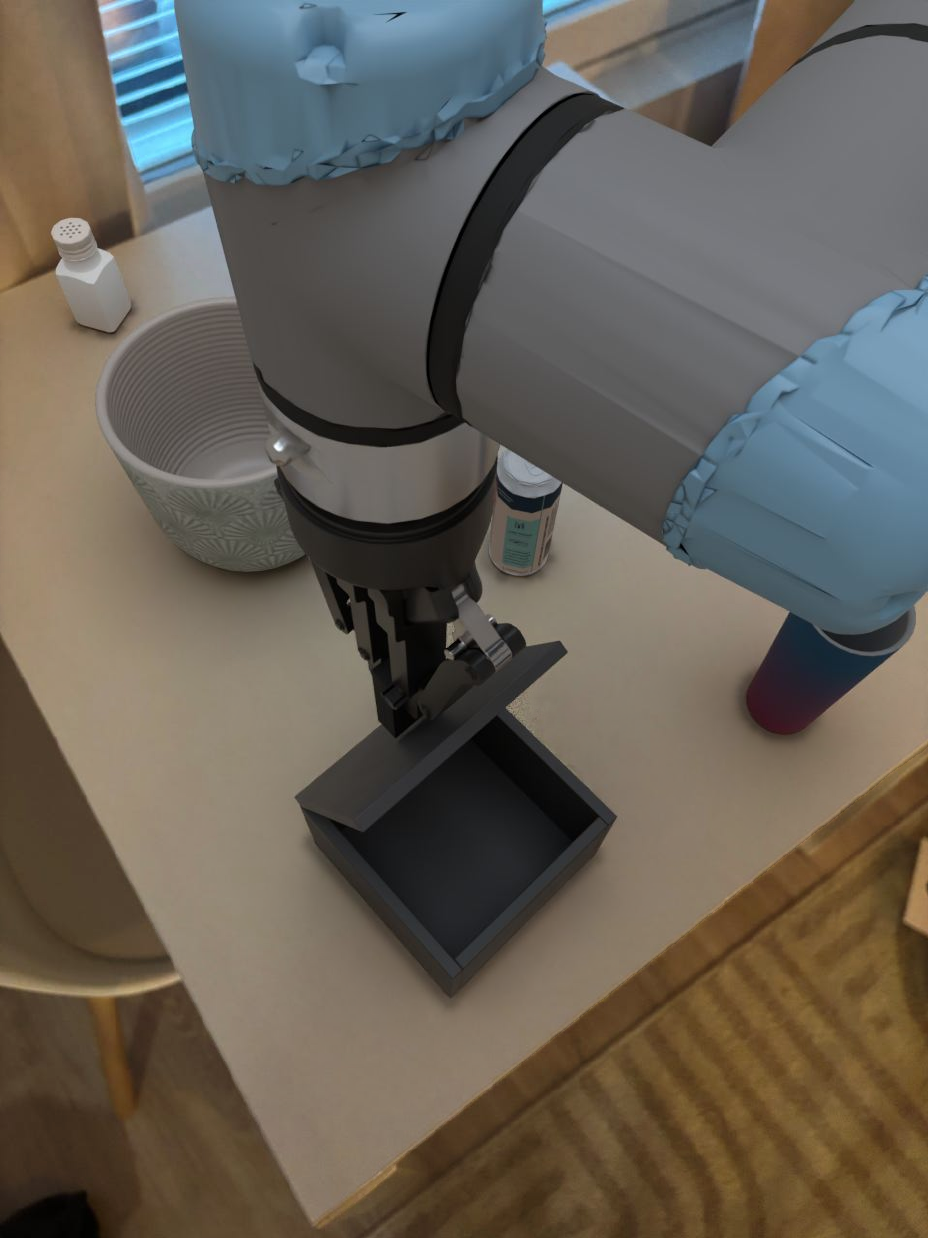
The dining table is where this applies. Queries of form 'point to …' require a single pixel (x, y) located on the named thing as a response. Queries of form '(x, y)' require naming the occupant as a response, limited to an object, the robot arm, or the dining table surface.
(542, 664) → the dark grey square slab
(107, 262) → the pepper shaker
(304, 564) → the dining table surface
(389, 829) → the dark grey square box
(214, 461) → the planter
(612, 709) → the dining table surface
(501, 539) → the beer can
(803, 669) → the cup
